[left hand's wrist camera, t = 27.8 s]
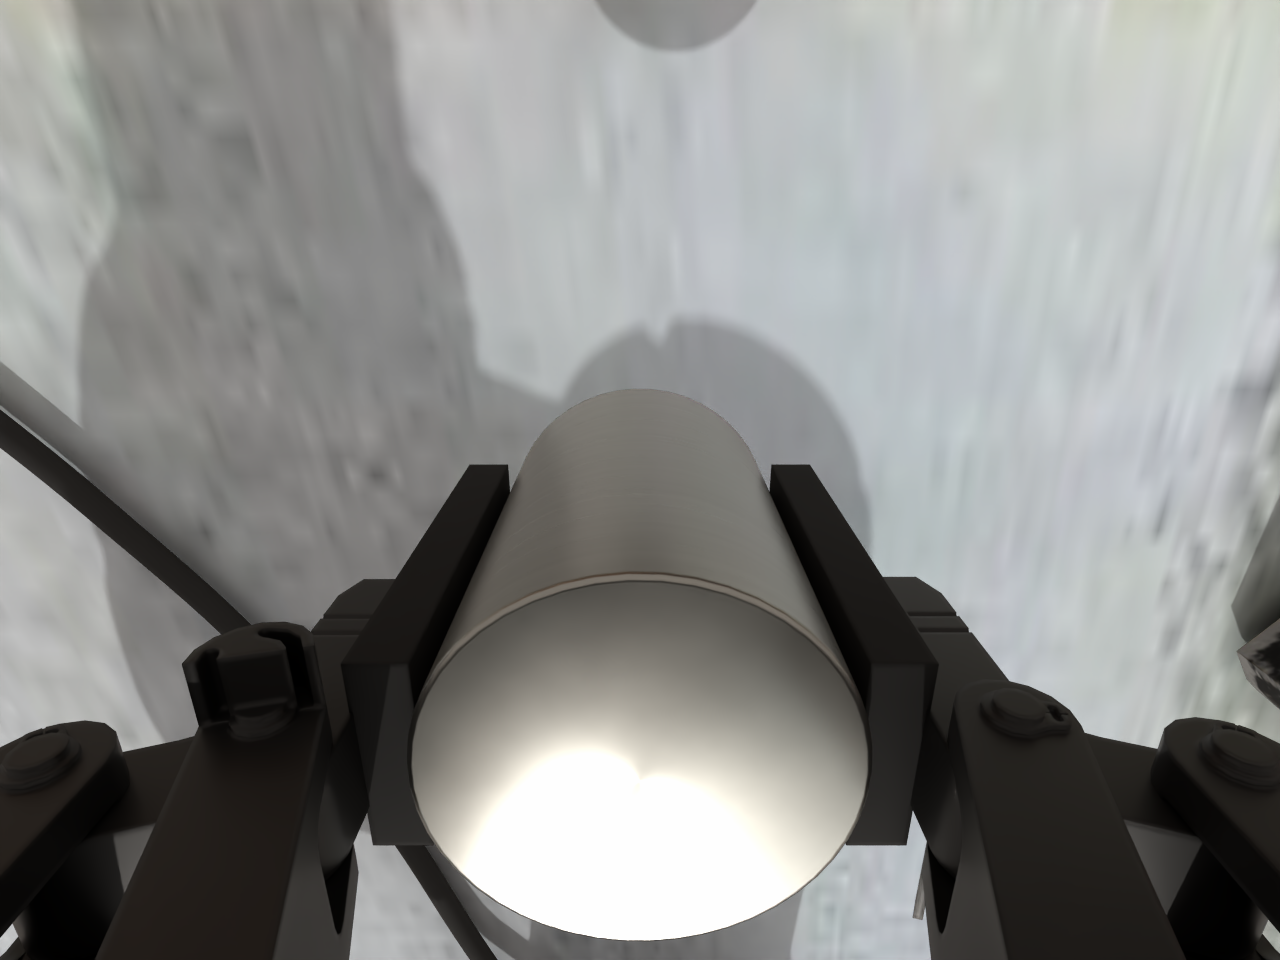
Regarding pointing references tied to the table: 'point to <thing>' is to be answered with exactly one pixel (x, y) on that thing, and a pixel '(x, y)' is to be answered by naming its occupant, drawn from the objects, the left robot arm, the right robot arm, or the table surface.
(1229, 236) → the table surface
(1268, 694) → the gun
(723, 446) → the can
